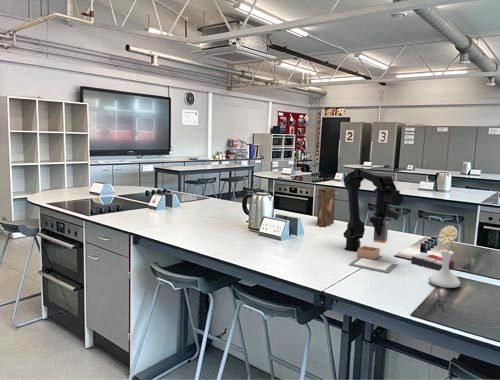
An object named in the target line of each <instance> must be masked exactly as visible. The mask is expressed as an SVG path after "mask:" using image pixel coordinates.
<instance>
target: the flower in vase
mask: <svg viewBox="0 0 500 380" xmlns="http://www.w3.org/2000/svg"><path fill="white" fill-rule="evenodd" d="M458 234H459V230H458V229H457V227H455V226H454V225H447V226H444V227H443V228H441V230H439V234H438V242H440V243H442V246H444V247H445V248H447V249H448V250H447V249H440V250H439V252H440V254H441V257H442V258H443V264H442V268H441V270H439V271H438V270H437V271H436V272H434V273H432V274H431V275H429V277H428V281H429V282H430V283H431V284H433V285H435V286H438V287H441V288H447V289H451V288H452V289H454V288H458V287H459V286H461V281H460V279H458V277H457V276H455V274H453V273H452V272H451V270H450V269H449V260H451V257H452V256H453V255H454V253H458V250H457V245H453V241H455V240H456V238H457V237H458ZM447 244H448V245H449V244H451V246H450V247H449V246H448V245H447Z"/></svg>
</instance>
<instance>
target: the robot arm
mask: <svg viewBox="0 0 500 380" xmlns="http://www.w3.org/2000/svg"><path fill="white" fill-rule="evenodd" d="M364 180H366V181H369V182H370V183H372V185H373V186H374V187H375V188H374V189H373V192H376V195H375V204H374V207H375V211H374V213H373V215H371V216H370V217H369V219H368V221H369V223H372V225H373V229H374V228H375V230H376V233H377V235H378V236H380V235H381V231H382V227H383V225H384V224H385V223H386V222H385V220H388V222H390V221H391V219H393V220H395V221H399V219H400V218H401V216H402V211H401V208H399V206H400V205H402V203H403V201H404V197H403V195H402V194H401V192H400V189H399V190H398V189H397V187H396V184H395V181H394V180H393V177H392V176H391V175H389V174H387V175H386V174H379V173H376V172H374V171H372V170H368V169H367V168H364V167H357V168H355V169H354V170H353V171H351V172H349V173H347V174H346V175H345V176H344V177H343V184H344V188H345V190H346V192H347V193H348V194H347V196H348V208H349V209H348V210H349V211H348V212H349V220H348V222H347V224H346V225H347V226H346V227H347V229H346V230H345V231H344V232H343V238H345V248H344V250H347V251H353V252H357V250H358V249H359V248H360V247H361V241H360V240H361V239H363V238H364V237H363V236H364V234H365V231H366V229H365V222H363V221H362V220H361V217H360V202H359V191H360V188H361V185H362V182H363V181H364ZM391 205H392V206H396V208H392V207H391ZM397 206H398V207H397Z"/></svg>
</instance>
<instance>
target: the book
mask: <svg viewBox="0 0 500 380" xmlns="http://www.w3.org/2000/svg"><path fill="white" fill-rule="evenodd" d="M317 191H318V193H317V194H318V195H317V214H316V215H317V216H316V217H317V219H316V227H317V226H319V227H318V228H322V227H324V228H326V226H327V227H329V226H331V224H332V225H333V224H334V222H335V206H336V205H335V203H336V201H335V200H336V187H333V188H331V187H323V188H319V189H318V190H317Z"/></svg>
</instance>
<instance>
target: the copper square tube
mask: <svg viewBox="0 0 500 380" xmlns="http://www.w3.org/2000/svg"><path fill="white" fill-rule="evenodd" d="M380 251H381V248H379V247H374V246H368V245H361V246H360V248H359V249H358V250H357V251H356V253H357V254H356V257H357V258H359V257H361V258H366V259H371V260H377V259H378V258H379V257H380V253H381V252H380Z"/></svg>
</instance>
